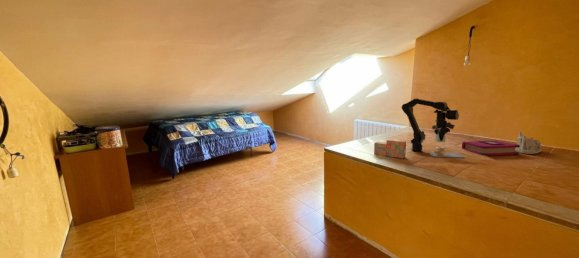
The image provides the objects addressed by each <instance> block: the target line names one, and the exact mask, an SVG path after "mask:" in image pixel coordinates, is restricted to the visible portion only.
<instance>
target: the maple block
mask: <svg viewBox="0 0 579 258" xmlns="http://www.w3.org/2000/svg"><path fill="white" fill-rule="evenodd" d="M445 151H446V148H445V147H443V146H434V152H435V154H436V155H444V153H446V152H445Z"/></svg>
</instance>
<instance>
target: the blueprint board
mask: <svg viewBox="0 0 579 258" xmlns="http://www.w3.org/2000/svg"><path fill="white" fill-rule="evenodd" d="M427 154H428V155H430V156H431V157H432V158H447V159H448V158H449V159H450V158H451V159H465V158H466V157H465V156H464V155H462V154H460V153H459V152H445V153H444V155H436V154H435V151H434V152H433V151H428V152H427Z"/></svg>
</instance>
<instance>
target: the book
mask: <svg viewBox="0 0 579 258" xmlns="http://www.w3.org/2000/svg"><path fill="white" fill-rule="evenodd" d="M516 147H520V145H517V143H512V142H511V143H510V142H506V141H502V140H475V141H474V140H472V141H462V143H461V149H463V150H465V151H467V152H470V153H474V154H477V155H479V156H484V157H485V156H486V157H489V156H510V155H511V156H512V155H513V156H517V155H519V154H520V152H518V151H516V150H515V148H516Z"/></svg>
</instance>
